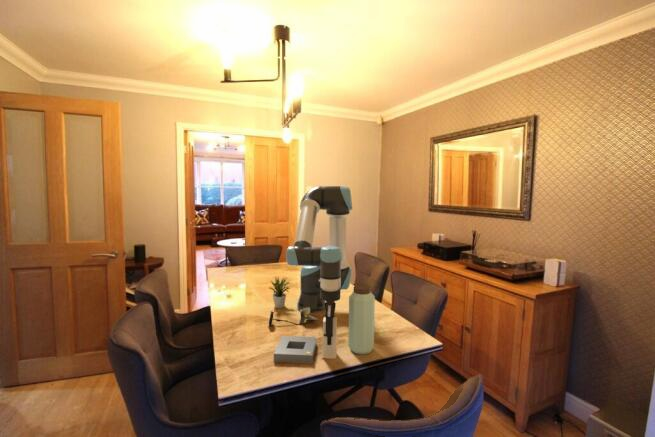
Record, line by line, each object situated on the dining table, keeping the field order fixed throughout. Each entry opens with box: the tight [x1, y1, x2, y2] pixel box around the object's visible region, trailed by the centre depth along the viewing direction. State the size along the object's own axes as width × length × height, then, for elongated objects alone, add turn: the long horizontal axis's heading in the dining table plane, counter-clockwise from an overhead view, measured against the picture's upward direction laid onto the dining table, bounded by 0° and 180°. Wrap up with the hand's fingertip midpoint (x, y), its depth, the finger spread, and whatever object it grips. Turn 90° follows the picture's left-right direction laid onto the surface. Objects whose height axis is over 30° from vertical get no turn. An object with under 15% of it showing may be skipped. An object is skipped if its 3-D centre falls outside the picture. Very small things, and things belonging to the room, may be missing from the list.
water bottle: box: [348, 284, 376, 355], centre depth 122 cm, size 10×10×25 cm
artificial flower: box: [268, 307, 318, 327], centre depth 147 cm, size 9×22×10 cm, turn 96°
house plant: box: [267, 276, 293, 309], centre depth 166 cm, size 14×14×16 cm
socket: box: [273, 335, 317, 364], centre depth 120 cm, size 14×14×3 cm
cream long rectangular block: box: [322, 316, 338, 359], centre depth 118 cm, size 4×5×16 cm
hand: (329, 348), depth 118 cm, fingers closed on cream long rectangular block, 4 cm apart
